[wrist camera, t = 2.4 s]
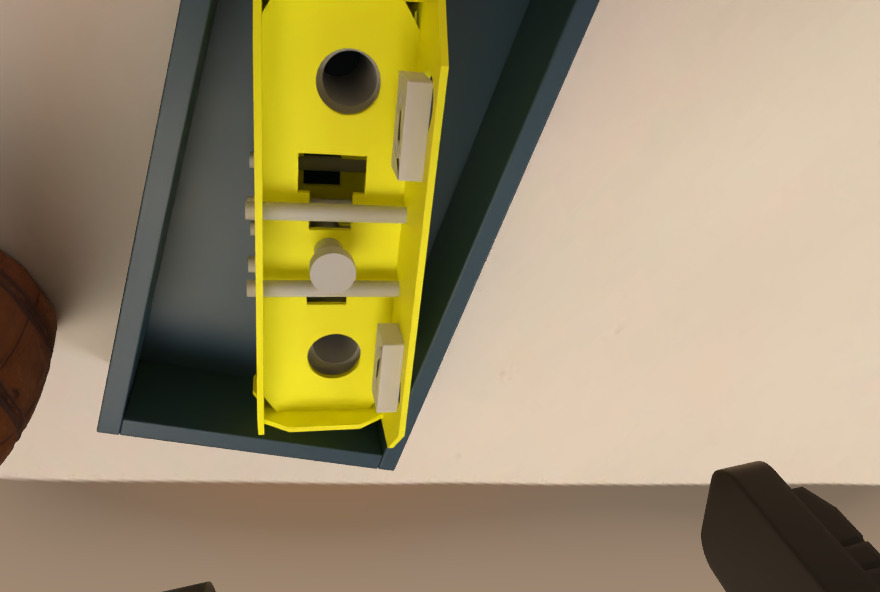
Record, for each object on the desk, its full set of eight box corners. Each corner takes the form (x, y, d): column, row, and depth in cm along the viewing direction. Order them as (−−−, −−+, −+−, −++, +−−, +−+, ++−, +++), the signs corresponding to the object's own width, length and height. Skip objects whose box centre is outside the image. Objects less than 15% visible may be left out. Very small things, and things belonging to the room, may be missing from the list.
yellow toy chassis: (380, 347, 31) (412, 475, 24) (253, 349, 30) (247, 486, 23) (415, -34, 24) (477, -10, 17) (247, -55, 22) (236, -37, 15)
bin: (117, 367, 29) (96, 432, 26) (233, -201, 21) (224, -224, 17) (380, 410, 34) (394, 471, 30) (566, -46, 25) (617, -38, 21)
